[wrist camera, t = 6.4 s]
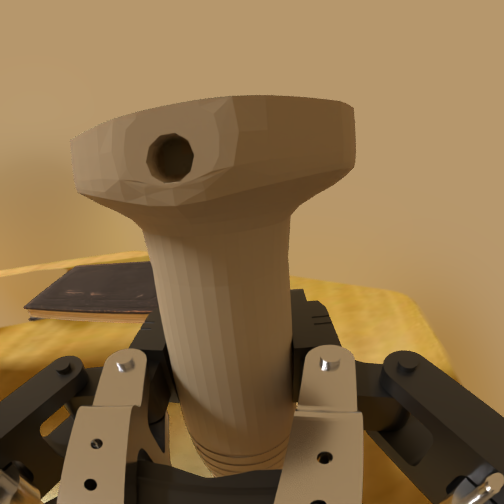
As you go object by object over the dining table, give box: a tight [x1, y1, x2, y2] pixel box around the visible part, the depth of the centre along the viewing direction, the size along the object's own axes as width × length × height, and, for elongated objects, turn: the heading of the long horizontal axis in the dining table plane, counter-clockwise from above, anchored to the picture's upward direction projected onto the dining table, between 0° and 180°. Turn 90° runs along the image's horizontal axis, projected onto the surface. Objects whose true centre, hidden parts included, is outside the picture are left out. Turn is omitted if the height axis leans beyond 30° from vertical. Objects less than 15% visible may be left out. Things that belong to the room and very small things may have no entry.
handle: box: [70, 95, 356, 478], centre depth 8 cm, size 5×6×15 cm
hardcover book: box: [24, 261, 159, 323], centre depth 36 cm, size 16×23×2 cm
